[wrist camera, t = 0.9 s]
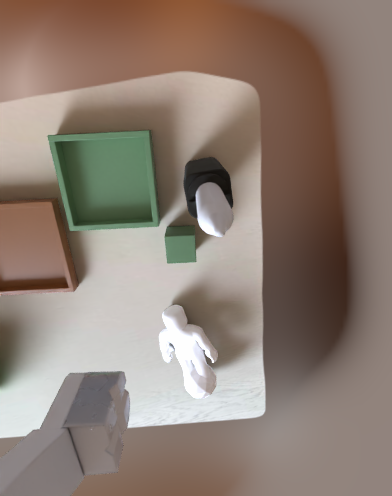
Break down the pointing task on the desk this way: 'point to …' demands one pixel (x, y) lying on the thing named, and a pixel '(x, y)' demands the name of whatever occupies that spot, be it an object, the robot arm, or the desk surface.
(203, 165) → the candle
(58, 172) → the green tray
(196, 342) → the figure
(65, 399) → the robot arm
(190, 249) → the green block
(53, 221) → the wood tray
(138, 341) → the desk surface
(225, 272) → the desk surface
